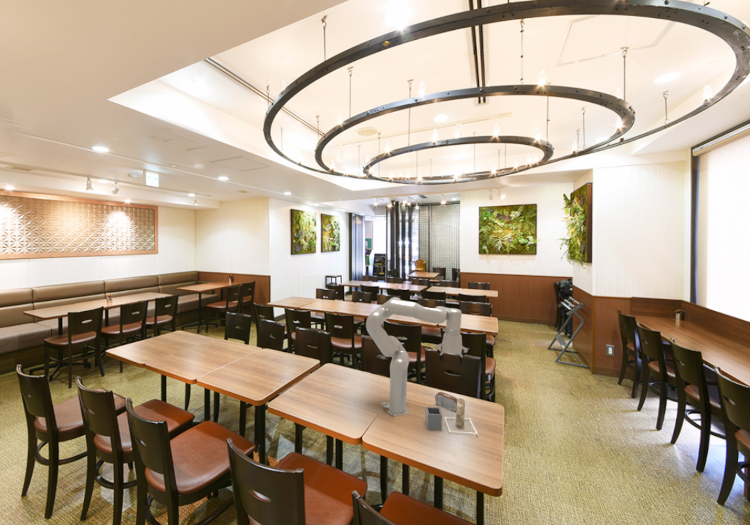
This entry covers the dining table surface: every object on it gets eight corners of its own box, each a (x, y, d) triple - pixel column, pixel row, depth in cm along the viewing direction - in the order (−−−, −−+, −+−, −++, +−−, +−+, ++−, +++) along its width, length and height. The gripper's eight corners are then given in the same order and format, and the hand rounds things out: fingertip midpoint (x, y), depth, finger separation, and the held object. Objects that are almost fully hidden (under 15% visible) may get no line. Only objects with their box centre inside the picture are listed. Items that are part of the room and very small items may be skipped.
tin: (460, 413, 162) (460, 398, 162) (457, 415, 160) (458, 400, 160) (436, 403, 172) (437, 389, 172) (434, 405, 170) (434, 391, 170)
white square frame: (449, 435, 142) (449, 432, 142) (443, 420, 155) (444, 416, 155) (477, 437, 141) (477, 433, 141) (469, 421, 154) (470, 418, 154)
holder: (427, 431, 144) (428, 414, 144) (425, 423, 151) (426, 406, 151) (441, 432, 144) (442, 415, 144) (438, 424, 151) (439, 407, 151)
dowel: (456, 428, 146) (458, 402, 146) (455, 424, 150) (456, 398, 150) (464, 429, 146) (466, 402, 145) (462, 424, 150) (464, 398, 149)
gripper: (437, 332, 151) (434, 363, 152) (470, 335, 149) (468, 367, 150) (435, 328, 158) (433, 358, 159) (467, 331, 157) (464, 361, 158)
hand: (450, 362), depth 155 cm, fingers open, 9 cm apart
